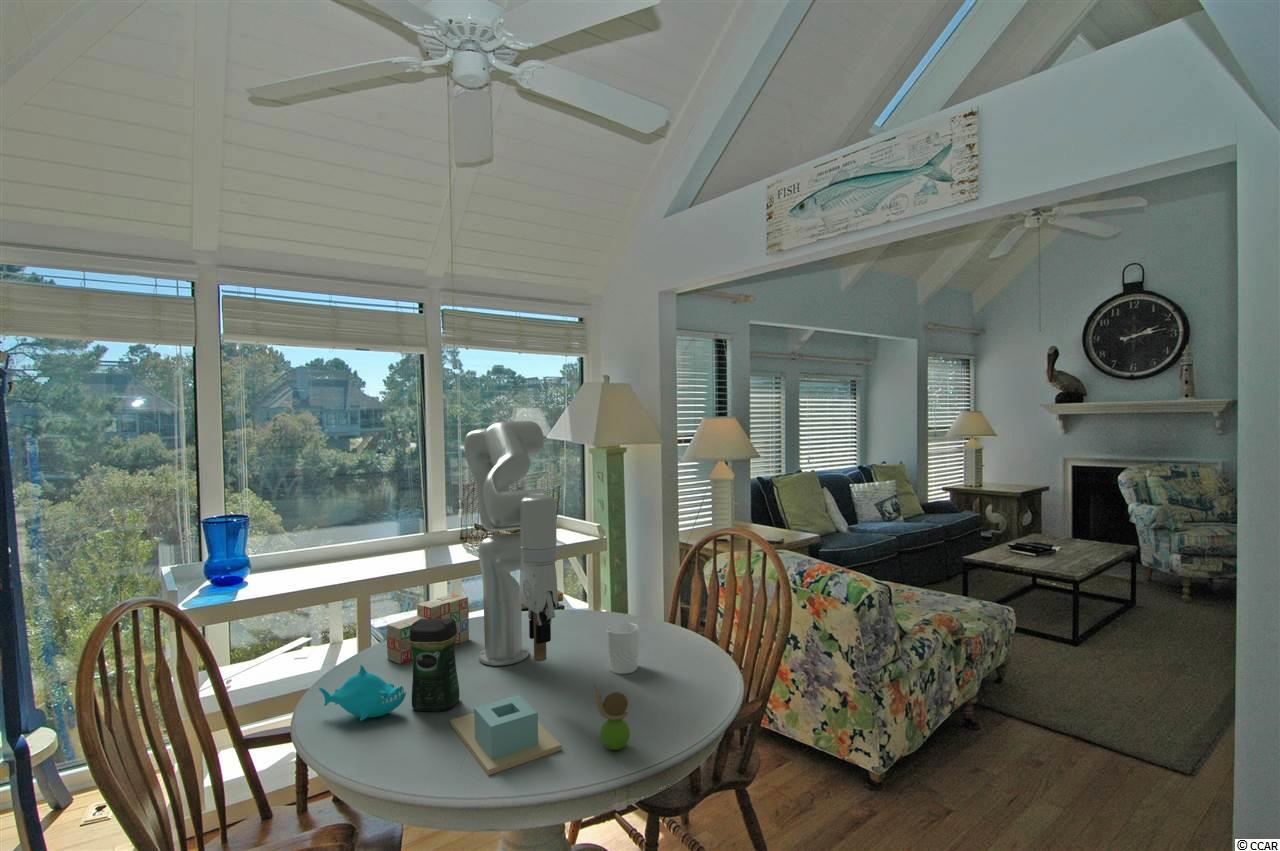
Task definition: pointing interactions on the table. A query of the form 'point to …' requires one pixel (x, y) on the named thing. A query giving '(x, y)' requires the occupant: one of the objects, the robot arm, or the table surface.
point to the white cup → (623, 647)
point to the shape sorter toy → (505, 734)
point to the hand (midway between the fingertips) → (540, 639)
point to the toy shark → (366, 695)
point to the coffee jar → (434, 664)
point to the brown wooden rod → (538, 648)
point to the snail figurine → (613, 719)
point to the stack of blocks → (431, 609)
